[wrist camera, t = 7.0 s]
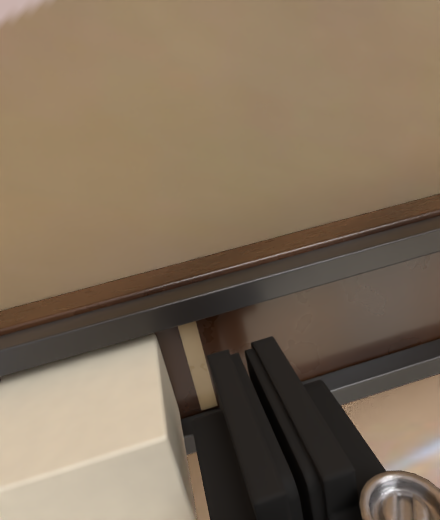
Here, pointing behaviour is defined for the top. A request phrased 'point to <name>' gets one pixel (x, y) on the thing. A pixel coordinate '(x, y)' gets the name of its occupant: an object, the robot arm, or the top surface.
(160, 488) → the cream block
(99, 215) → the top surface
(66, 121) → the top surface
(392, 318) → the rail
